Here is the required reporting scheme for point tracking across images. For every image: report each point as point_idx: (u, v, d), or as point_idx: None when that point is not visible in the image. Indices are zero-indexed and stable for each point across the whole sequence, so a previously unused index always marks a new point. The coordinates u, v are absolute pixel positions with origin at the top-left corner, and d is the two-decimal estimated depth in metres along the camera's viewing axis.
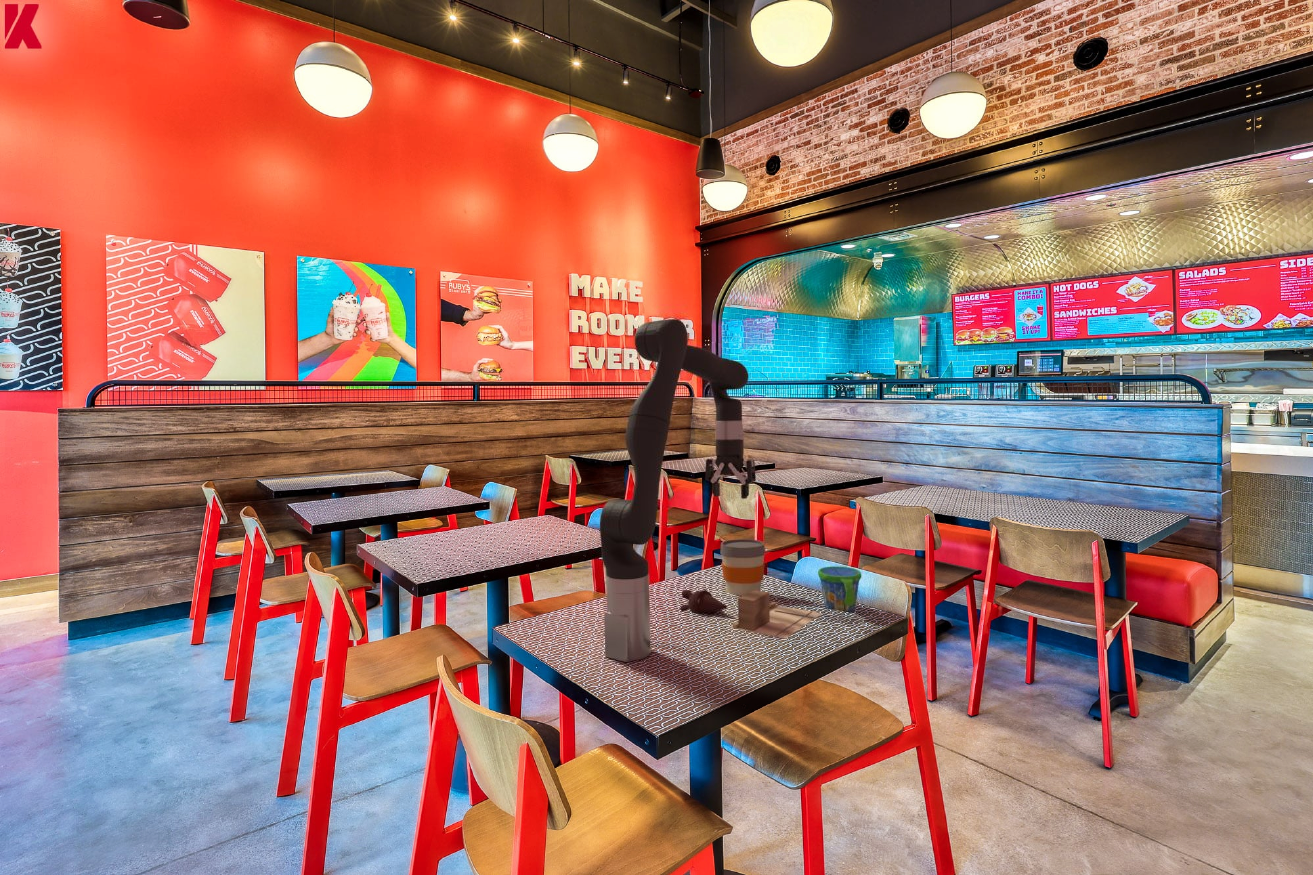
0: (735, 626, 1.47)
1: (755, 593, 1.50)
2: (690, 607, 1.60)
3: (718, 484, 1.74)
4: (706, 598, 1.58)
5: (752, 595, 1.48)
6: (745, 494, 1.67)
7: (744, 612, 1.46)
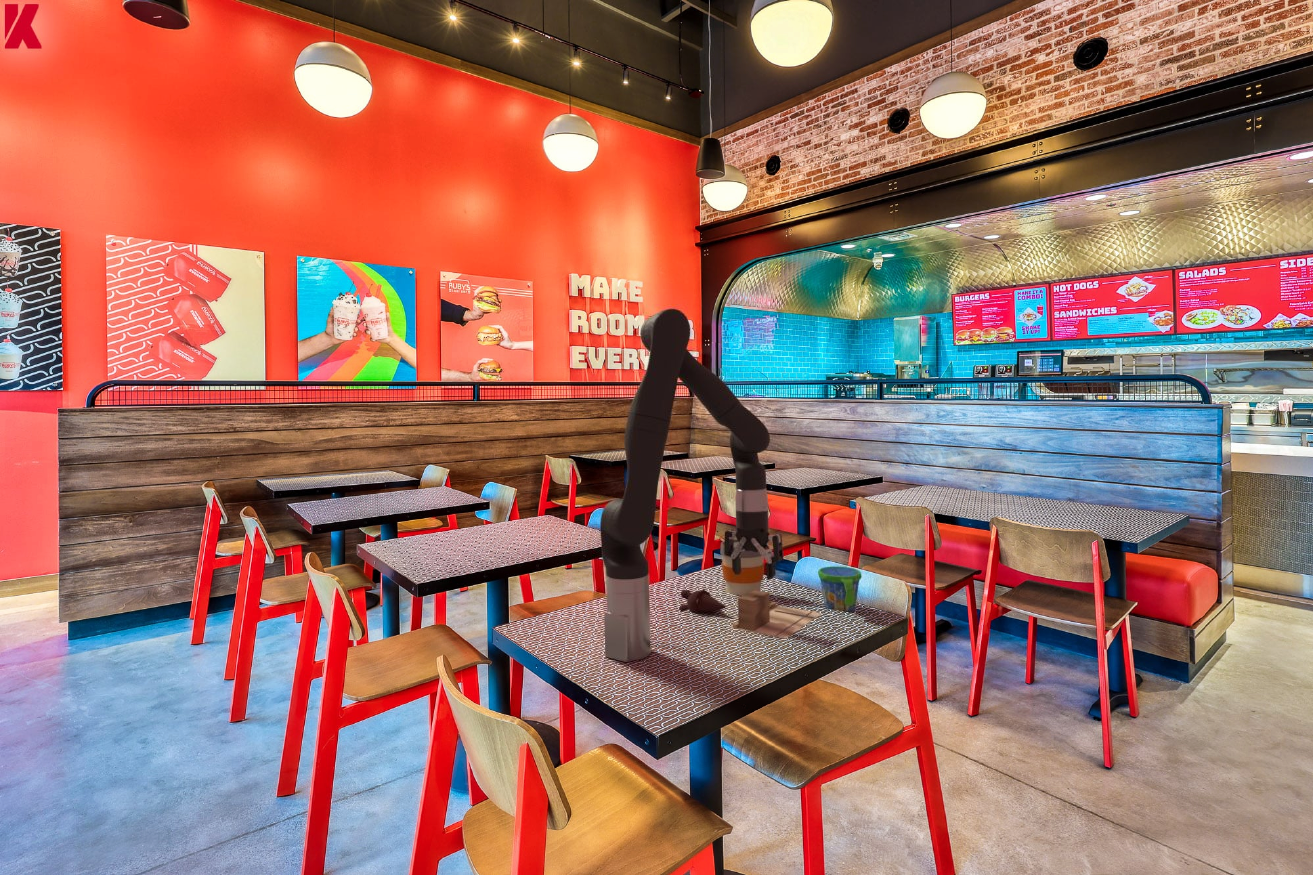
0: (735, 626, 1.47)
1: (755, 593, 1.50)
2: (689, 607, 1.60)
3: (739, 559, 1.51)
4: (705, 598, 1.58)
5: (752, 595, 1.48)
6: (771, 574, 1.45)
7: (744, 612, 1.46)
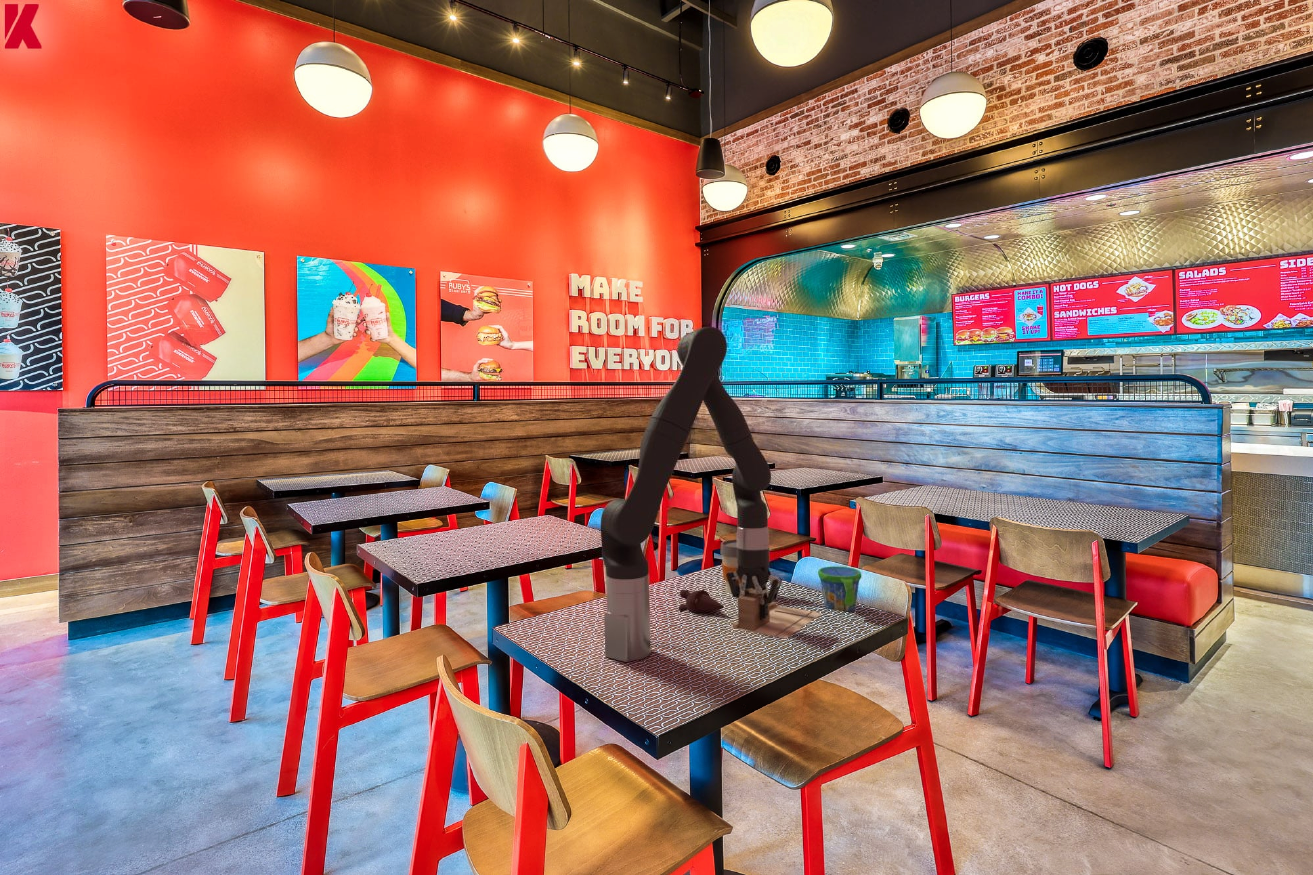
0: (735, 626, 1.47)
1: (755, 593, 1.50)
2: (688, 607, 1.60)
3: None
4: (703, 598, 1.58)
5: (752, 595, 1.48)
6: (764, 615, 1.46)
7: (744, 612, 1.46)
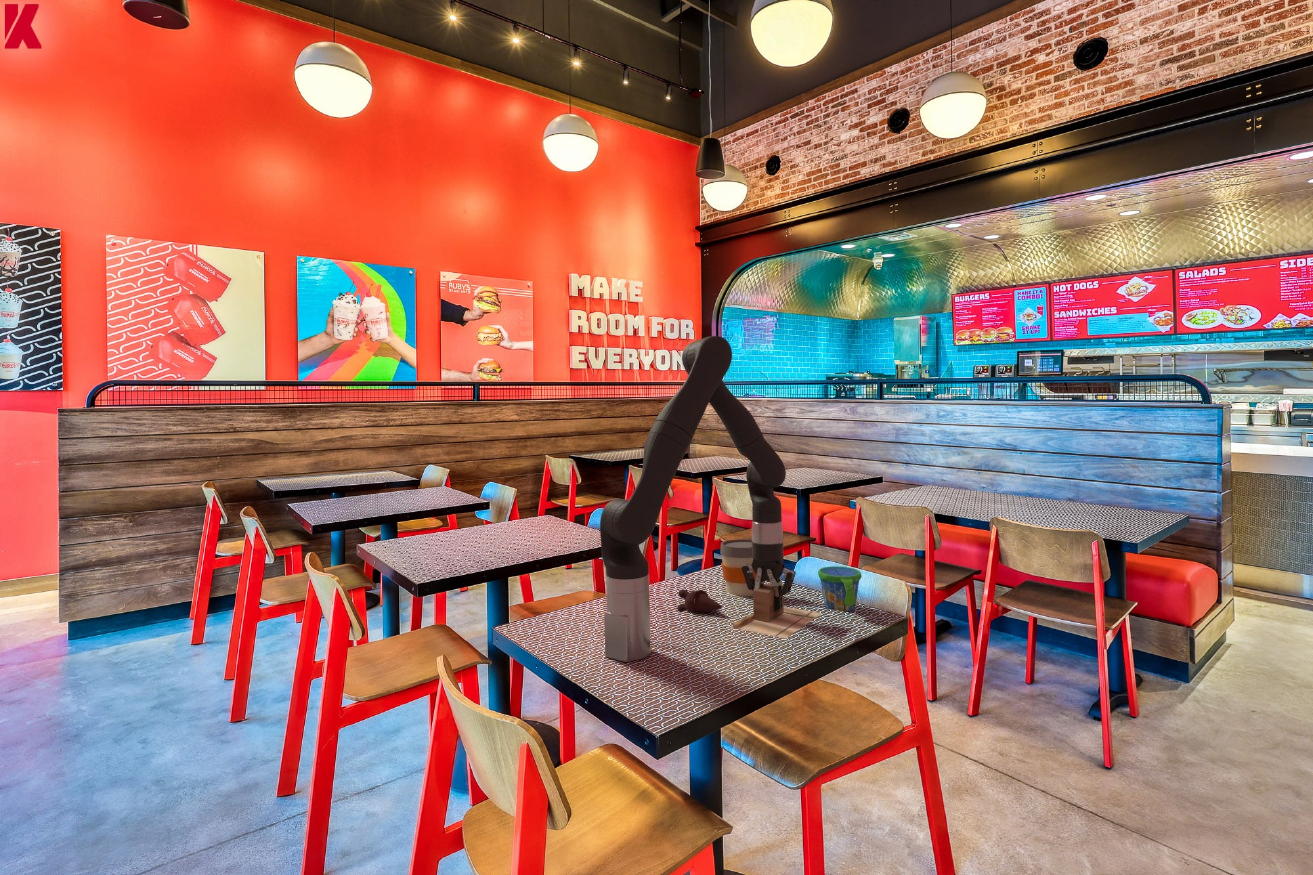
0: (735, 626, 1.47)
1: (769, 585, 1.56)
2: (686, 607, 1.60)
3: None
4: (702, 598, 1.59)
5: (766, 588, 1.54)
6: (778, 607, 1.52)
7: (759, 603, 1.51)
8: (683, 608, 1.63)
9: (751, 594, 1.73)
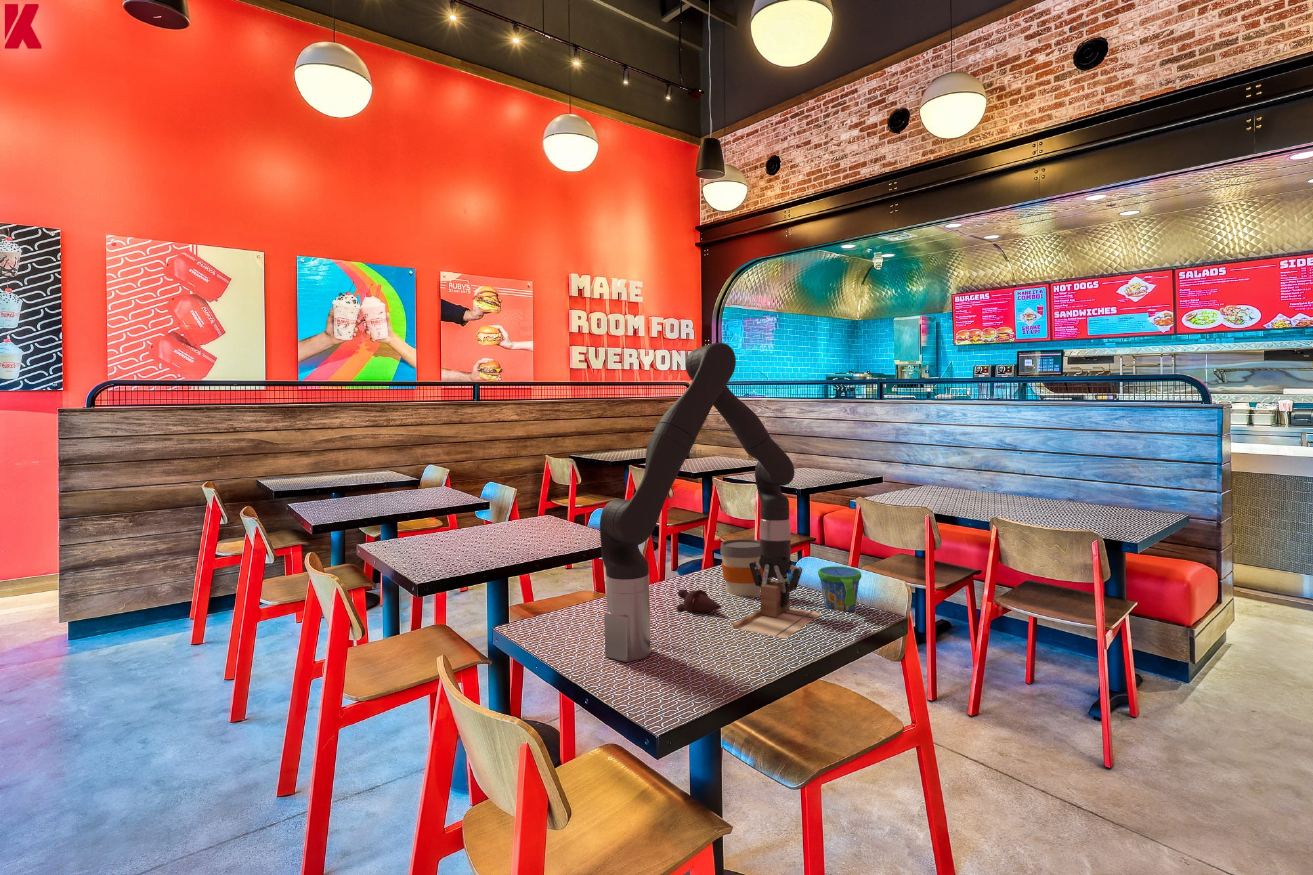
0: (735, 626, 1.47)
1: (776, 582, 1.59)
2: (685, 606, 1.60)
3: None
4: (701, 598, 1.59)
5: (773, 584, 1.57)
6: (785, 603, 1.55)
7: (766, 599, 1.54)
8: (682, 608, 1.63)
9: (751, 594, 1.73)
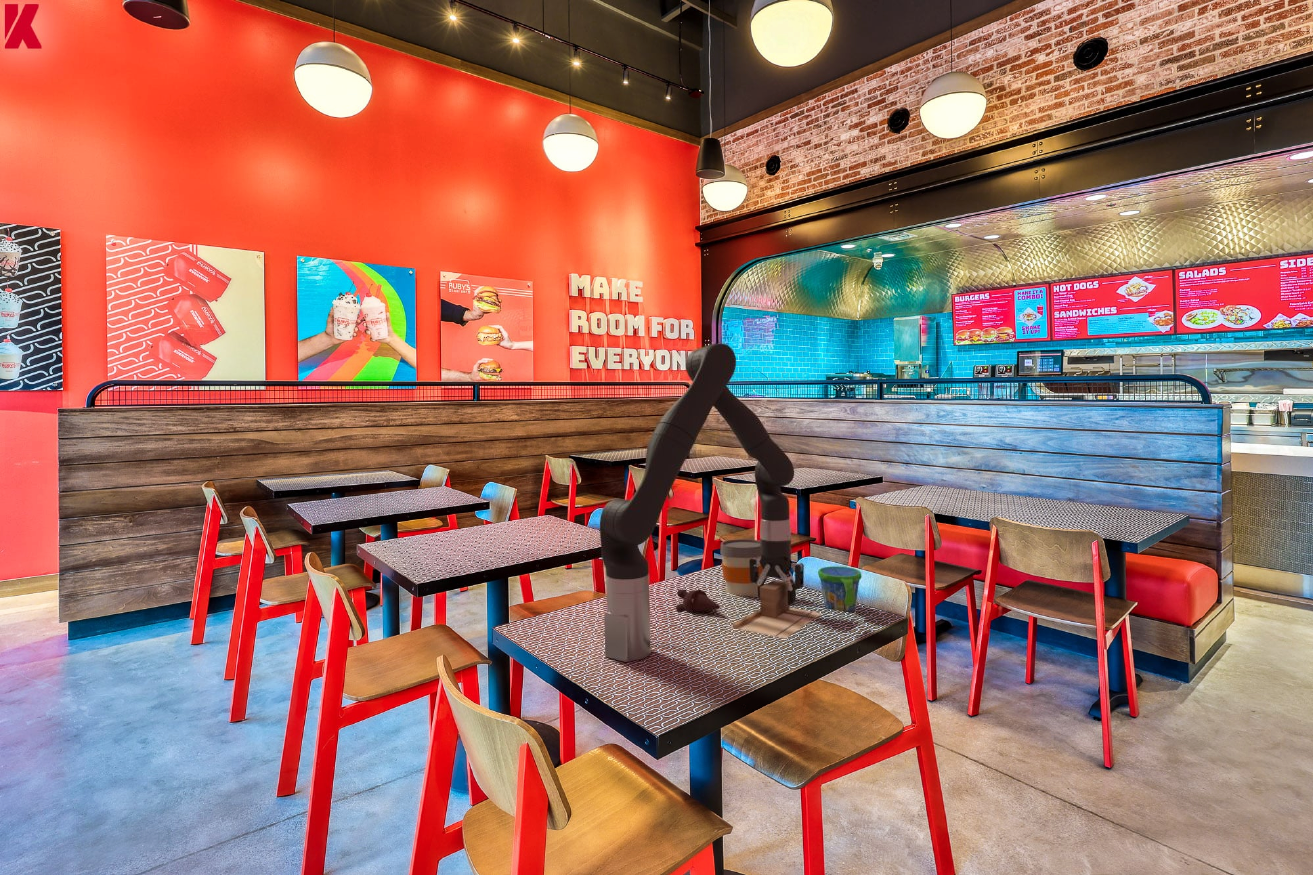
0: (735, 626, 1.47)
1: (775, 582, 1.59)
2: (684, 606, 1.60)
3: None
4: (700, 598, 1.59)
5: (773, 585, 1.57)
6: (792, 601, 1.55)
7: (766, 600, 1.54)
8: (682, 608, 1.63)
9: (751, 594, 1.73)
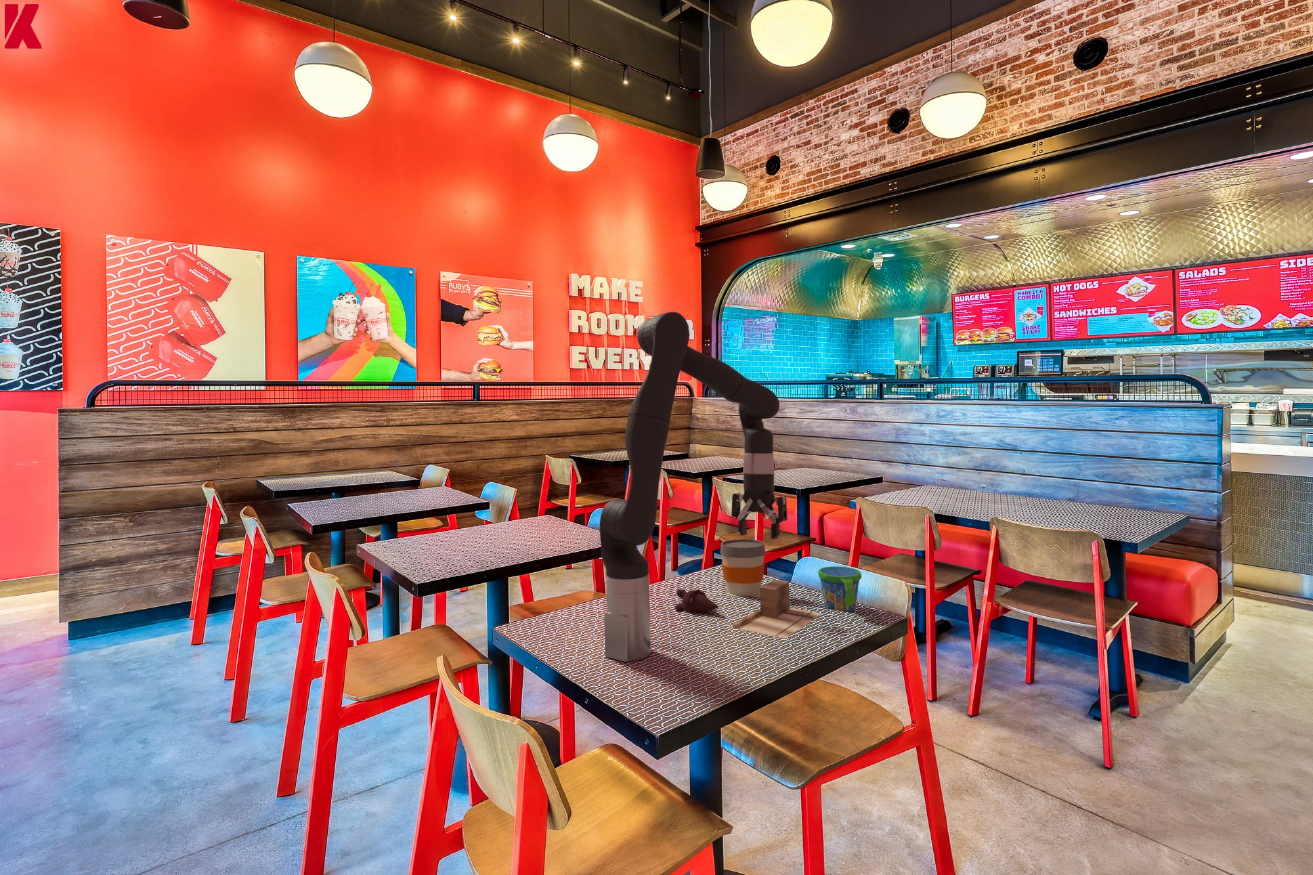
0: (735, 626, 1.47)
1: (775, 582, 1.59)
2: (683, 606, 1.61)
3: (746, 521, 1.59)
4: (698, 597, 1.59)
5: (773, 585, 1.57)
6: (775, 534, 1.53)
7: (766, 600, 1.54)
8: (680, 608, 1.64)
9: (751, 594, 1.73)
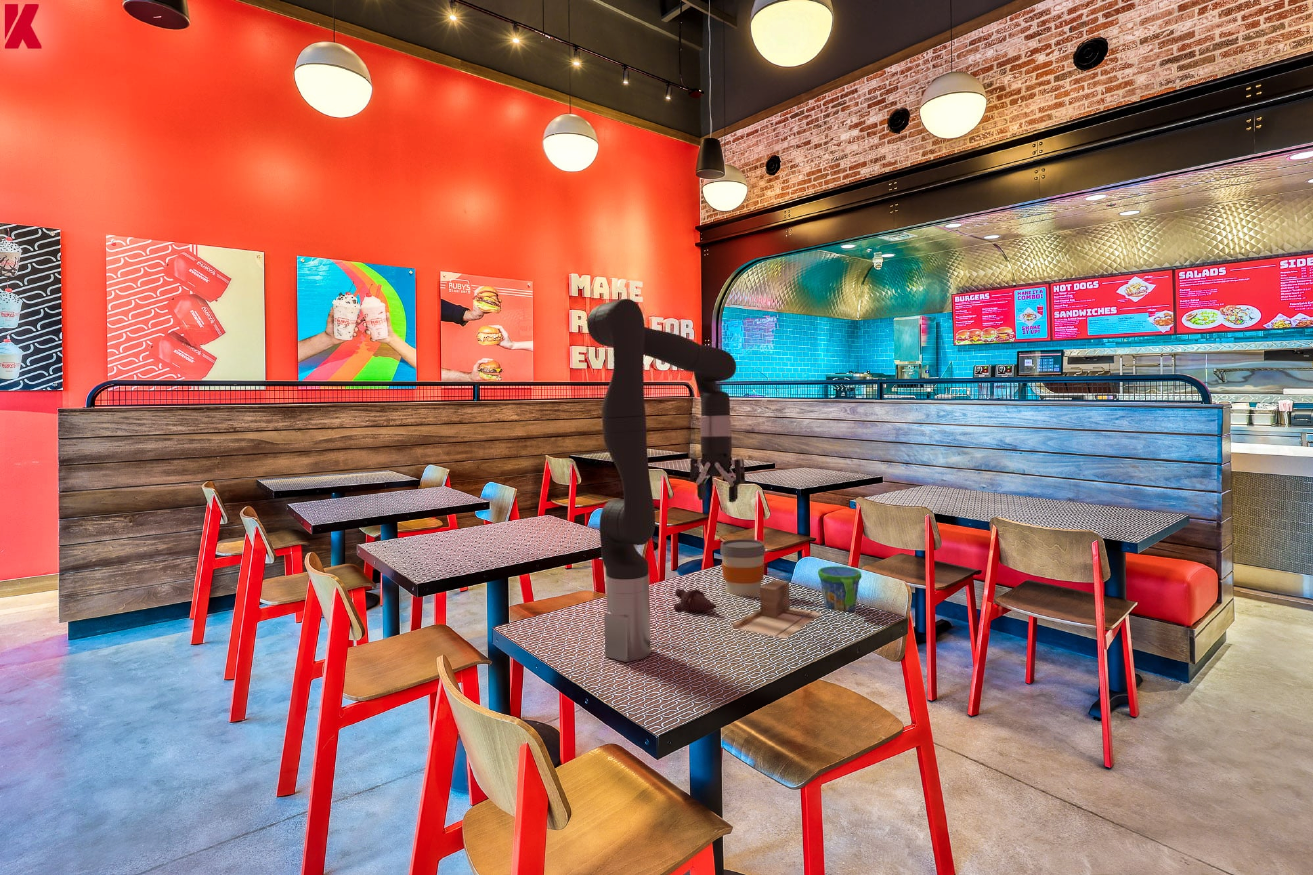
0: (735, 626, 1.47)
1: (775, 582, 1.59)
2: (681, 606, 1.61)
3: (704, 486, 1.57)
4: (697, 597, 1.59)
5: (773, 585, 1.57)
6: (733, 497, 1.51)
7: (766, 600, 1.54)
8: (679, 607, 1.64)
9: (751, 594, 1.73)
